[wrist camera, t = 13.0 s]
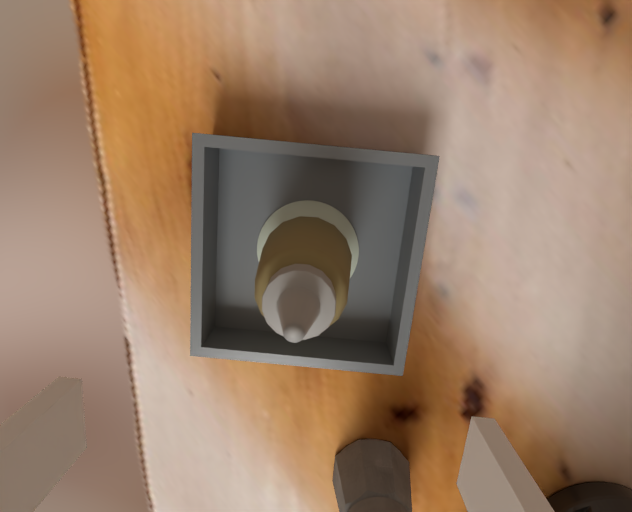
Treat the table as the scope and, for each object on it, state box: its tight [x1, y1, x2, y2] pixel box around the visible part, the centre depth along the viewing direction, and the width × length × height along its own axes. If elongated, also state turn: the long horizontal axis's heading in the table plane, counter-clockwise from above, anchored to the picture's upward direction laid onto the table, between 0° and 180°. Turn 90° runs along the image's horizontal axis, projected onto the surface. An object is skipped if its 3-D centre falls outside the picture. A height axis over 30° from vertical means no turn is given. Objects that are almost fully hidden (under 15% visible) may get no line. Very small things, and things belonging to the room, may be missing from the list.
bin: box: [190, 133, 439, 376], centre depth 36 cm, size 20×20×6 cm
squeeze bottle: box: [254, 216, 352, 343], centre depth 29 cm, size 8×8×18 cm
